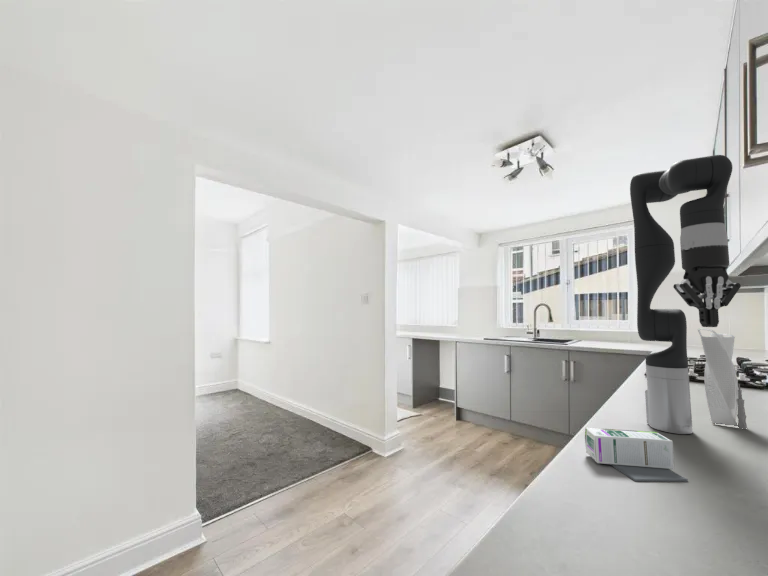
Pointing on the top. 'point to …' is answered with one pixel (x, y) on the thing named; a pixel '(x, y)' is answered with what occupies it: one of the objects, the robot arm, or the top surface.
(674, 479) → the mat
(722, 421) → the skyscraper
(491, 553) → the top surface
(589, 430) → the syrup box
